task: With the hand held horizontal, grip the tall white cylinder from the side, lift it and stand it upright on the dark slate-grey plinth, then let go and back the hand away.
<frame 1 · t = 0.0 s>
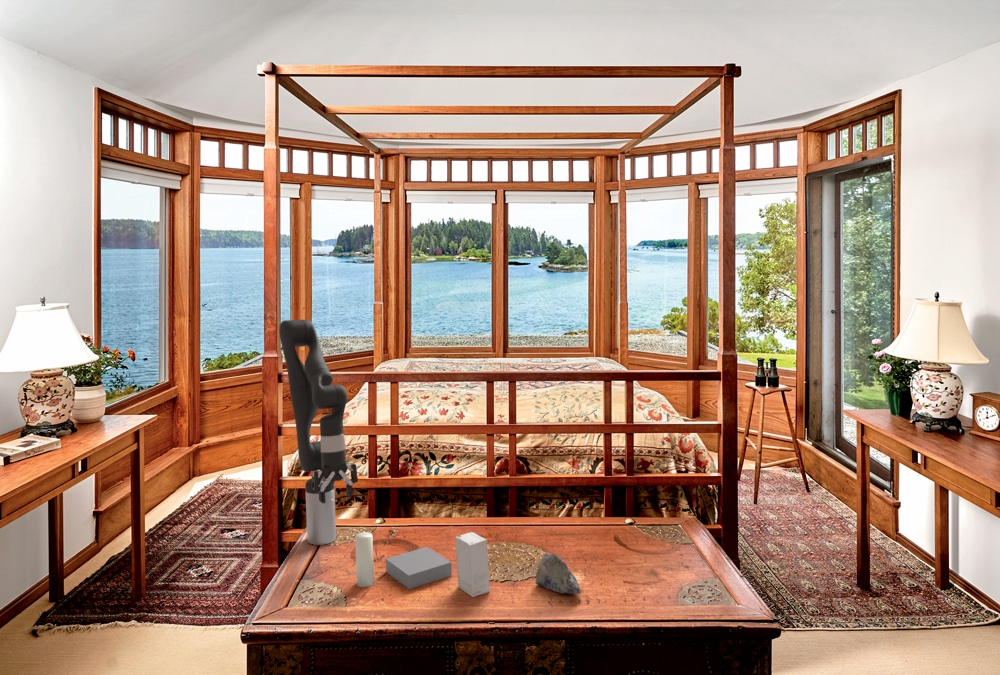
hand: (336, 500, 205), 17 cm above the table, tool pointing down, fingers open, 8 cm apart
white cylinder: (365, 583, 185), on the table
mineral rock: (557, 591, 179), on the table
slate plinth: (418, 573, 191), on the table
skincare box: (472, 590, 181), on the table
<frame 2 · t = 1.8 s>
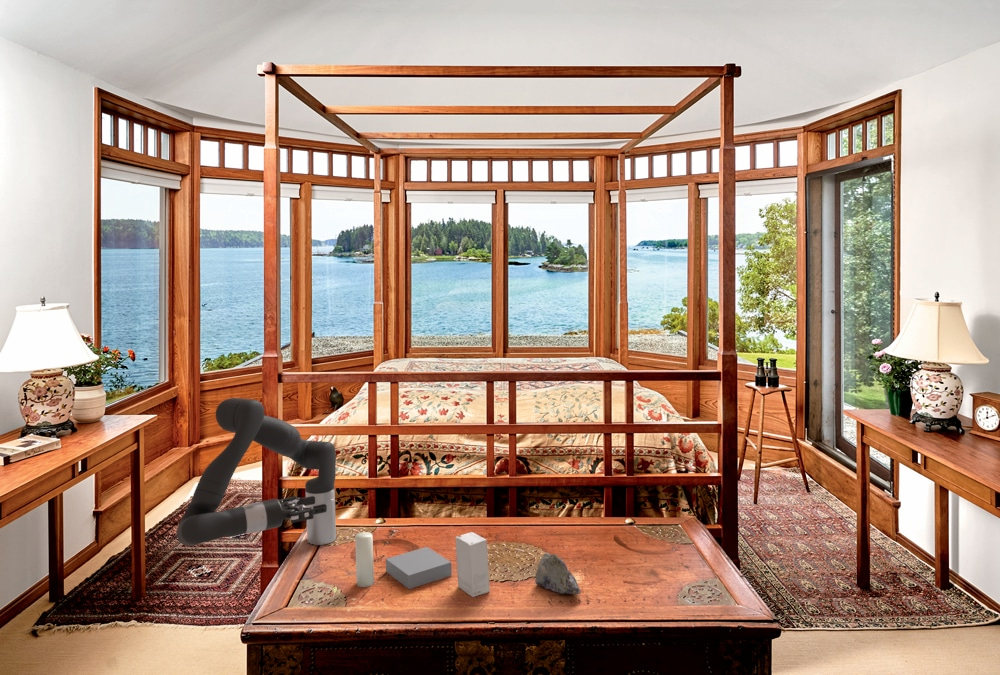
hand: (320, 503, 182), 24 cm above the table, tool horizontal, fingers open, 8 cm apart
nothing on the table moved.
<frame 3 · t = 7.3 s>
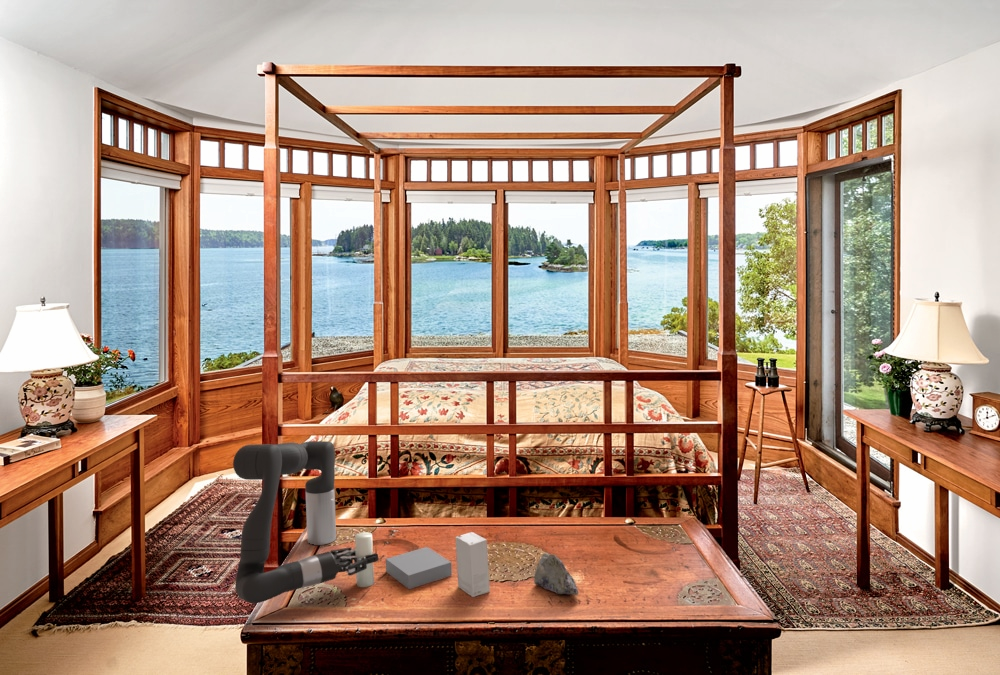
hand: (372, 553, 186), 8 cm above the table, tool horizontal, fingers closed on white cylinder, 5 cm apart
white cylinder: (365, 583, 185), on the table, touching gripper
everything else where it was.
when the fingers open (13 cm above the table, at t = 13.5 s): white cylinder drops 1 cm, resting on slate plinth.
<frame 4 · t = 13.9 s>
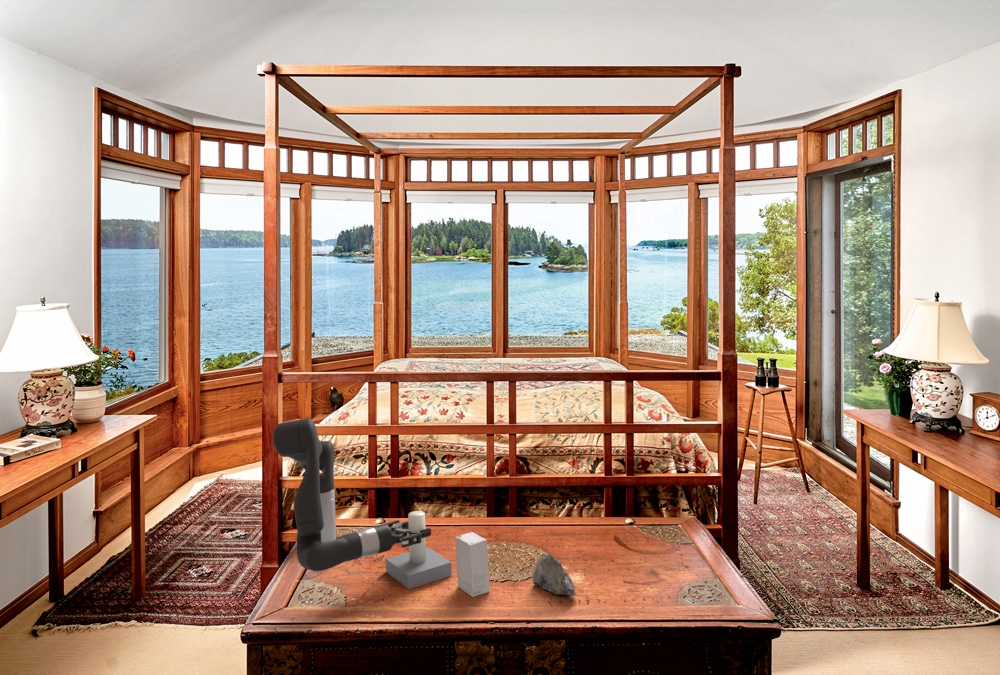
hand: (423, 527, 191), 14 cm above the table, tool horizontal, fingers open, 8 cm apart
white cylinder: (417, 560, 191), point 4 cm above the table, touching slate plinth
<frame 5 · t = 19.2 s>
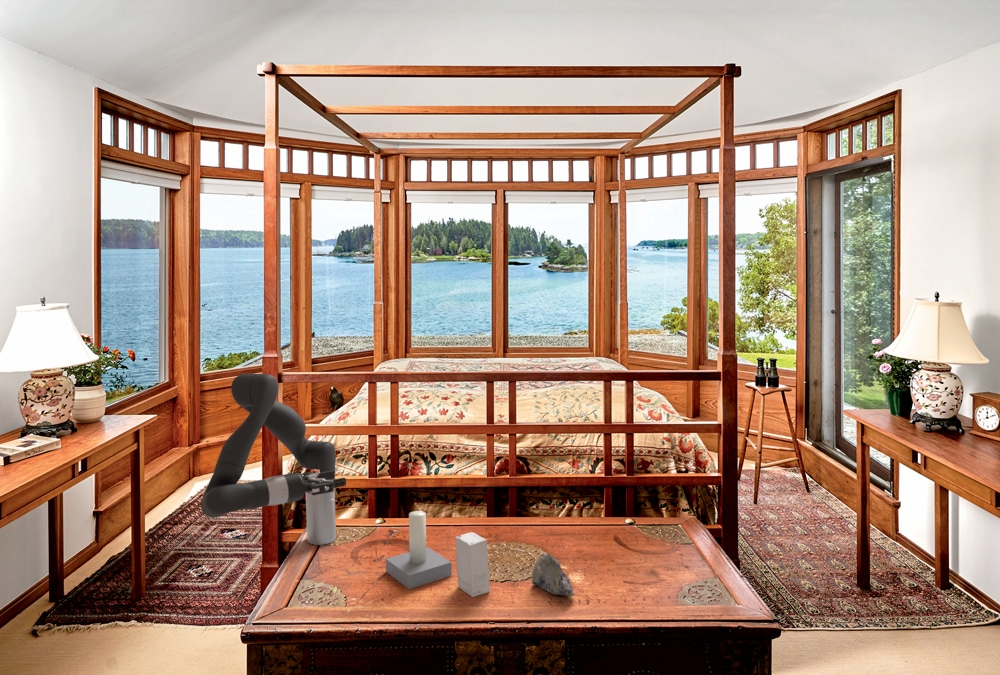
hand: (339, 477, 185), 30 cm above the table, tool horizontal, fingers open, 8 cm apart
at the end: white cylinder inside the target area on the slate plinth (0.1 cm from its centre), point 4.0 cm above the slate plinth's base; white cylinder tilted 1°; the gripper is holding nothing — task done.
